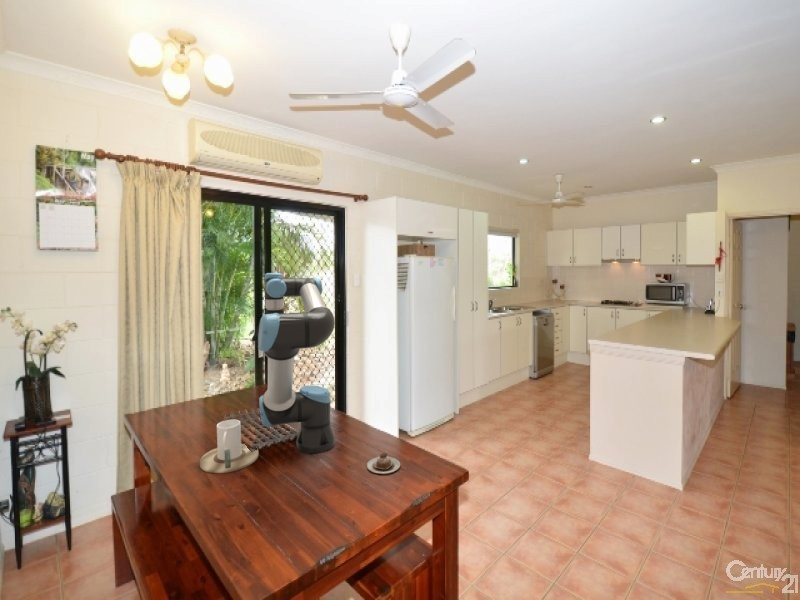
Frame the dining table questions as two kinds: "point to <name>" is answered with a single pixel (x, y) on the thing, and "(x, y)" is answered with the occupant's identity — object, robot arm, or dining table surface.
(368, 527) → the dining table surface
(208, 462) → the cream saucer dish
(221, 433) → the mug
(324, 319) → the robot arm
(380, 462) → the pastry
